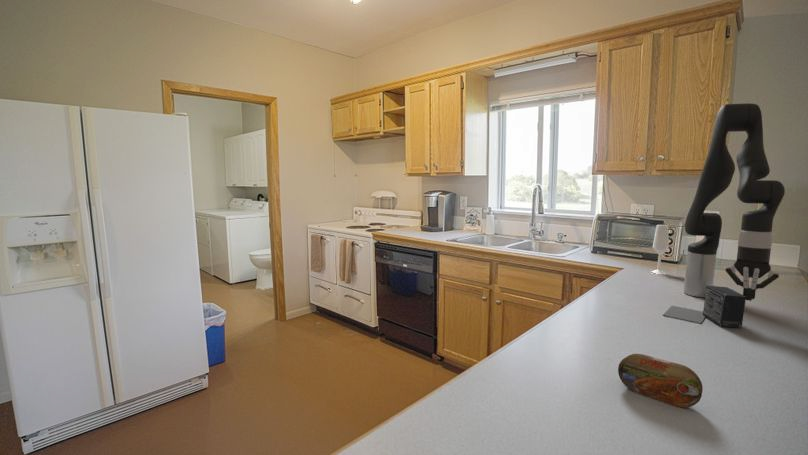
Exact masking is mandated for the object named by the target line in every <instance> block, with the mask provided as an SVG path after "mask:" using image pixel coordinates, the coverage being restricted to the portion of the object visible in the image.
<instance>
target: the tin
mask: <svg viewBox="0 0 808 455" xmlns="http://www.w3.org/2000/svg"><path fill="white" fill-rule="evenodd" d="M617 374H618V376H619V379H620V380H621V382H622V384H623V385H624V386H625V387H626V389H628V390H630V391H631V392H633V393H635V394H638V395H642V396H644V397H647V398H650V399H653V400H656V401H659V402H662V403H665V404H668V405H671V406H673V407H677V408H691V407H693V406H695V405H697V404H698V403H699V402H700V401H701V399H702V396H703V390H704V389H703V387H704V386H703V382H702V381H701V379H700V377H699V375H698V374H697V373H696V372H695V371H693V370H692V369H691V368H690V367H688V366H686V365H683V364H681V363H677V362H673V361H668V360H666V359H661V358H657V357H653V356H651V355H648V354H647V355H646V354H643V353H632V354H630V355H629V354H628V355H627V356H626V357H624V358H623V359H621V361H620V362H619V364H618V367H617Z"/></svg>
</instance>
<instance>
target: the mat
mask: <svg viewBox="0 0 808 455" xmlns="http://www.w3.org/2000/svg"><path fill="white" fill-rule="evenodd" d="M662 316H663V317H667V318H671V319H676V320H681V321H686V322H689V323H695V324H700V325H702V323H703V322H704V320H705V318H706V317H705V316H704V315H703V310H702V311H701V310H696V309H692V308H687V307H682V306H676V305H671V306H670V307H668V309H667V310H666V311H665V312H664V313H663V314H662Z"/></svg>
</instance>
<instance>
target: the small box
mask: <svg viewBox="0 0 808 455" xmlns="http://www.w3.org/2000/svg"><path fill="white" fill-rule="evenodd" d="M746 301H747V300H746V296H744V295H743V293H742V294H741V293H739V292H737V291H735V290H733V289H731V288H729V287H727V286H717V285H713V286H706V295H705V297H704V303H703V304H704V305H703V310H702V311H703V315H704V316H705V318H707V319H708V320H710V321H712V322H713V323H714V324H716V325H718V326H719V327H727V328H728V327H729V328H740V329H741V328H742V327H743V321H744V313H745V307H746Z"/></svg>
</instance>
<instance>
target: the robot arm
mask: <svg viewBox="0 0 808 455" xmlns="http://www.w3.org/2000/svg"><path fill="white" fill-rule="evenodd" d="M728 132H729V133H730V132H733V133H734V132H745V133H746V134H747V137H746V140H745V141H743V144H742V145H741V146H740V148H739V150H738V152H737V153H736V157H735V159H736V165H737V169H738V172H739V182H738V186H737V187H738V188H737V191H736V196H737V198H738V200H739V201H741V202H742V203H744V204H757V205H758V204H762V205H761V206H760V208H758V209H755V210H751V211H750V210H749V211H745V212H744V213H742V217H741V224H740V225H741V227H740V232H739V236H738V241H737V244H738V245H737V254H736V261H735V262H733V265H732V266H729V267H726V268H725V271H724V272H726V273H727V275H728V276H729V277H730V278H731V280H732V281H733V282H734V284H736V285H737V286H740V287H741V288H742V289H743V291H742V295H744V296H746V301H750V302H751V301H752V300H755V298H756V292H757V289H765V288H766V287H767V286H768V285H770V284H771V283H773V282H775V280H777V279H779V277H780V274H779V273H778V272H776V271H774V270H772V267H771V265H770V259H771V258H770V257H771V253H772V252H771V251H772V245H773V244H772V240H773V235H772V231H773V223H774V218H775V215H776V213H777V211H778V209H779V206H780V205H781V202H782V200H783V199H784V196H785V194H786V191H785V190H786V188H785V186H784V184H783V183H782V182H781V181H779V180H773V179H772V180H771V179H770V180H769V179H768V180H763V179H765V178H767V176H769V175H770V172H771V170H770V166H769V162H768V158H767V156H766V152H765V147H764V126H763V115H762V110H761V107H760V106H759V104H756V103H748V102H747V103H725V104H723V105H721V107H719V109H718V112H717V114H716V117H715V122H714V126H713V130H712V134H711V141H710V144H709V148H708V152H707V155H706V158H705V161H704V164H703V168H702V170H701V173H700V177H699V181H698V185H697V189H696V191H695V192H696V193H695V196H694V198H693V200H692V202H691V203H692V204H691V205H690V208H689V210H688V213H687V215H686V218H685V221H684V222H685V223H684V230H685V233H686V234H687V235H688V236H689V235H690V236H698V237H699V236H701V237H703V238H702V239H701V240H699V241H696V242H693V243H690V244H689V245H688V246H687V252H686V253H687V254H686V255H687V256H686V263H685V264H686V265H685V273H684V286H683V293H684V294H686V295H689V296H692V297H698V298H705V295H706V286H714V282H715V281H714V280H715V270H716V261H717V251H718V249H719V245H720V238H721V234H722V233H721V232H722V226H723V221H722V220H723V219H722V216H721V215H720V213H716V212H705V211H706V209H707V207H708V206H709V205H710V204H711V203H712V202H713V201H714V200H715V199H716V198H718V197H719V196H721V194H723V193H724V192H725V191H726V190H727V189H728V188H729V186H730V185H731V183H732V181H733V180H732V179H733V177H734V174H735V172H736V165H735V161H734V159H733V158H732V155H731V153H730V152H729V150H728V146H727V135H728ZM736 271H738V273H739V275H740V276H742V278H743V279H742V280H741V278H740V277H739V276H738V275H737V274H736ZM767 273H768V274H767ZM766 274H767V278H766V279H764V280H763V281H762V282H760V283H758V281H759V280H758V279H761V278H763V277H764V276H765V275H766ZM750 278H752V280H751V284H750Z"/></svg>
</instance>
